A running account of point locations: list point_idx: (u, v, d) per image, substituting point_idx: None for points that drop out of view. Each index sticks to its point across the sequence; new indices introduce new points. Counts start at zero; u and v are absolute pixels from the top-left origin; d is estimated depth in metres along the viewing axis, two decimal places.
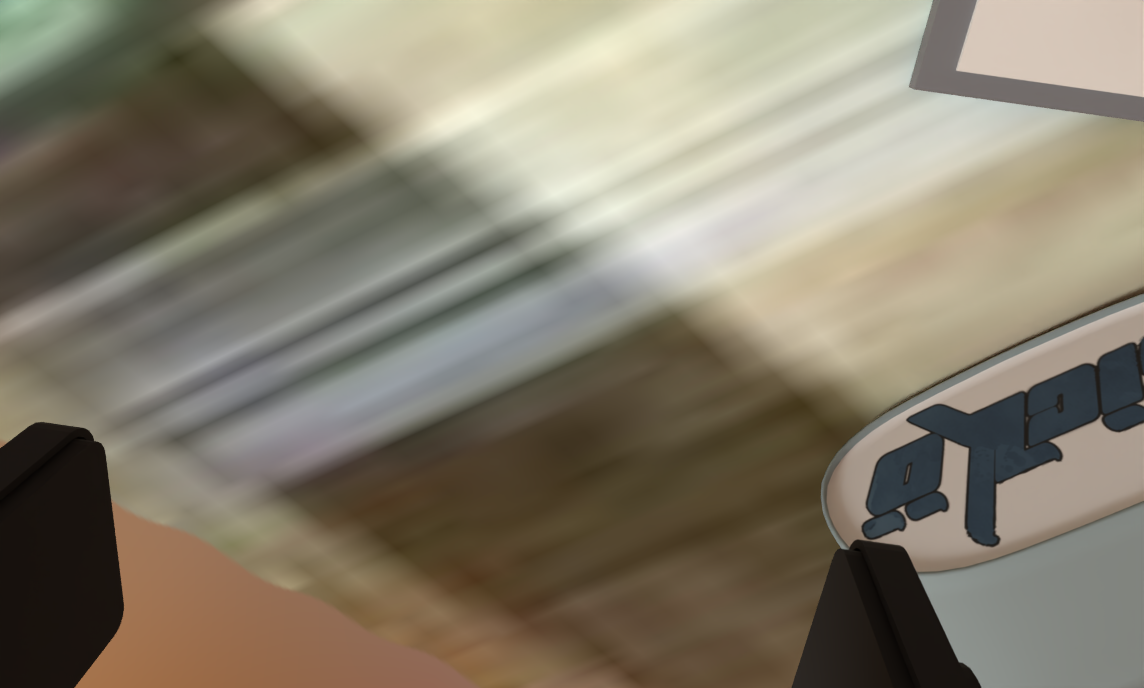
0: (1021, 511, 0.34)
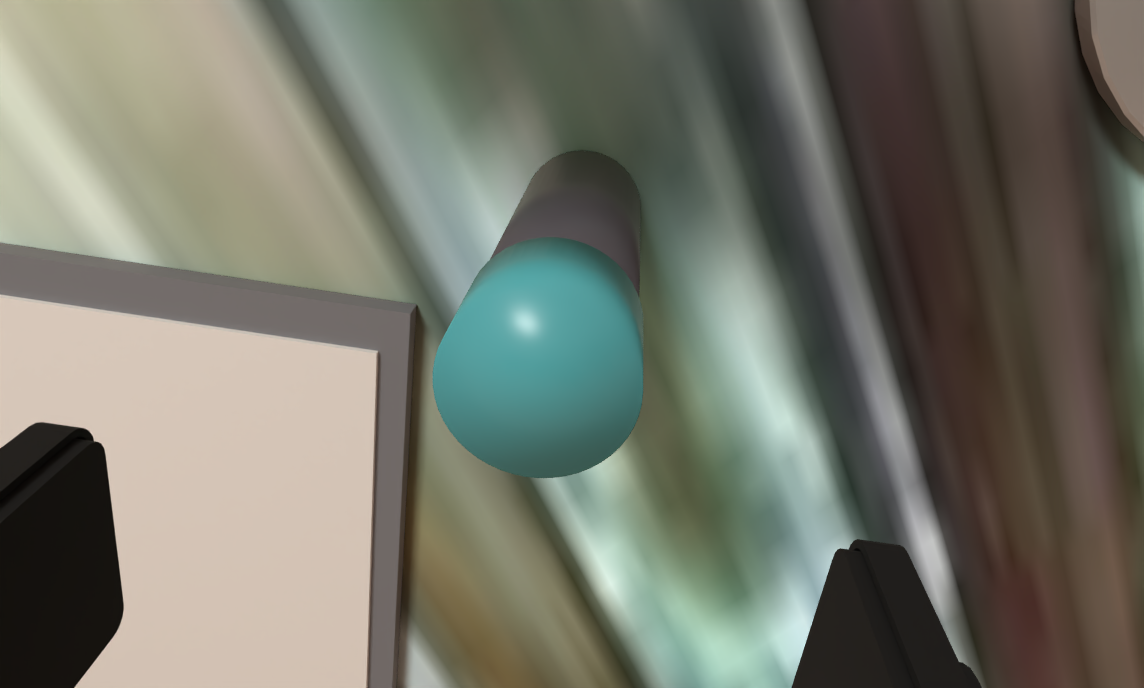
0: None
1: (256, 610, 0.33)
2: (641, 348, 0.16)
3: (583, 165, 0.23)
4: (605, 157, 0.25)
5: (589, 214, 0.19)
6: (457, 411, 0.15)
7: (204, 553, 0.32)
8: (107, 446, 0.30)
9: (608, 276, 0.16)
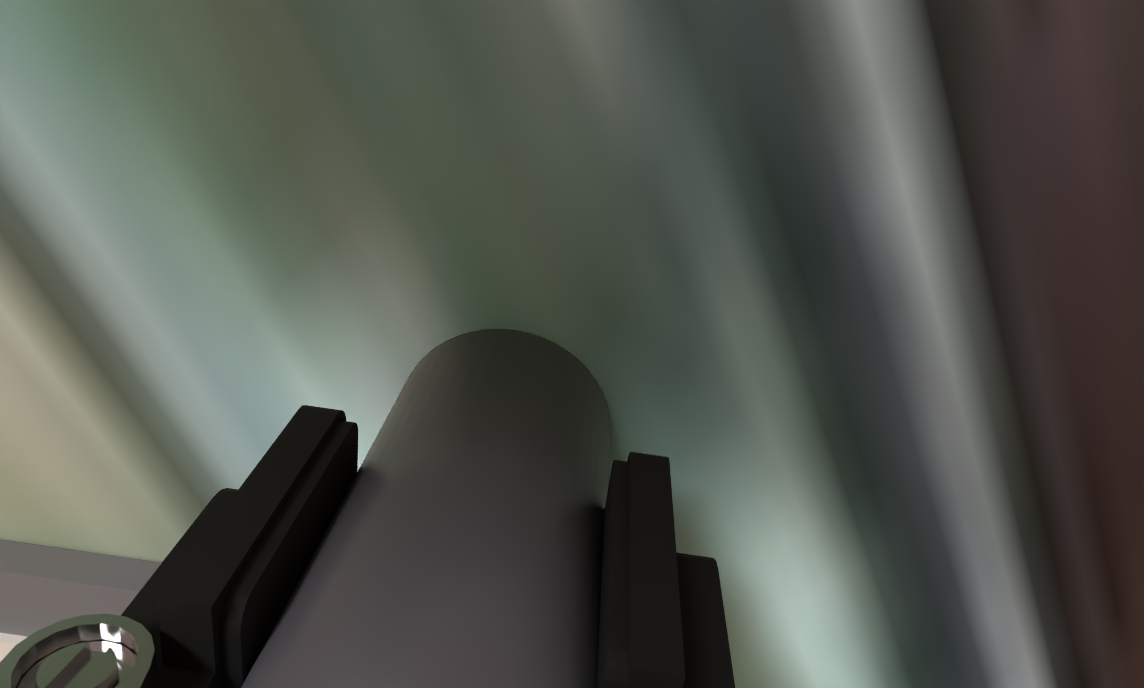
0: None
1: None
2: None
3: (491, 385, 0.12)
4: (542, 344, 0.13)
5: (461, 629, 0.08)
6: None
7: None
8: None
9: None
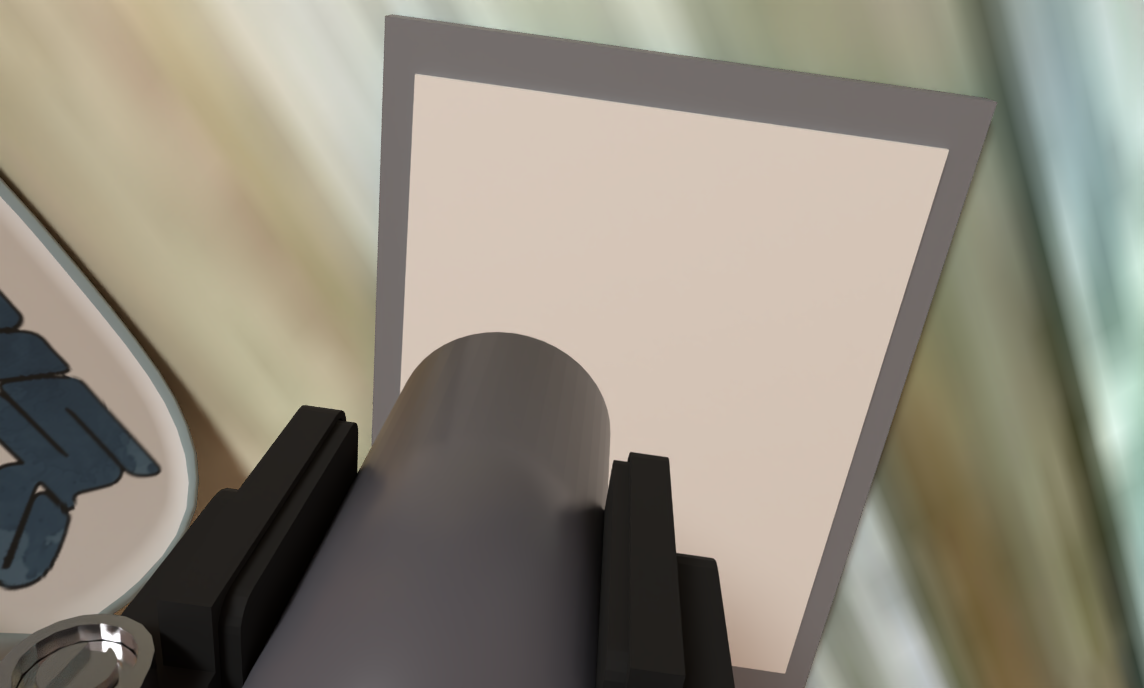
0: None
1: (722, 465, 0.30)
2: None
3: (490, 389, 0.12)
4: (542, 347, 0.13)
5: (460, 637, 0.07)
6: None
7: (680, 398, 0.29)
8: (604, 270, 0.27)
9: None
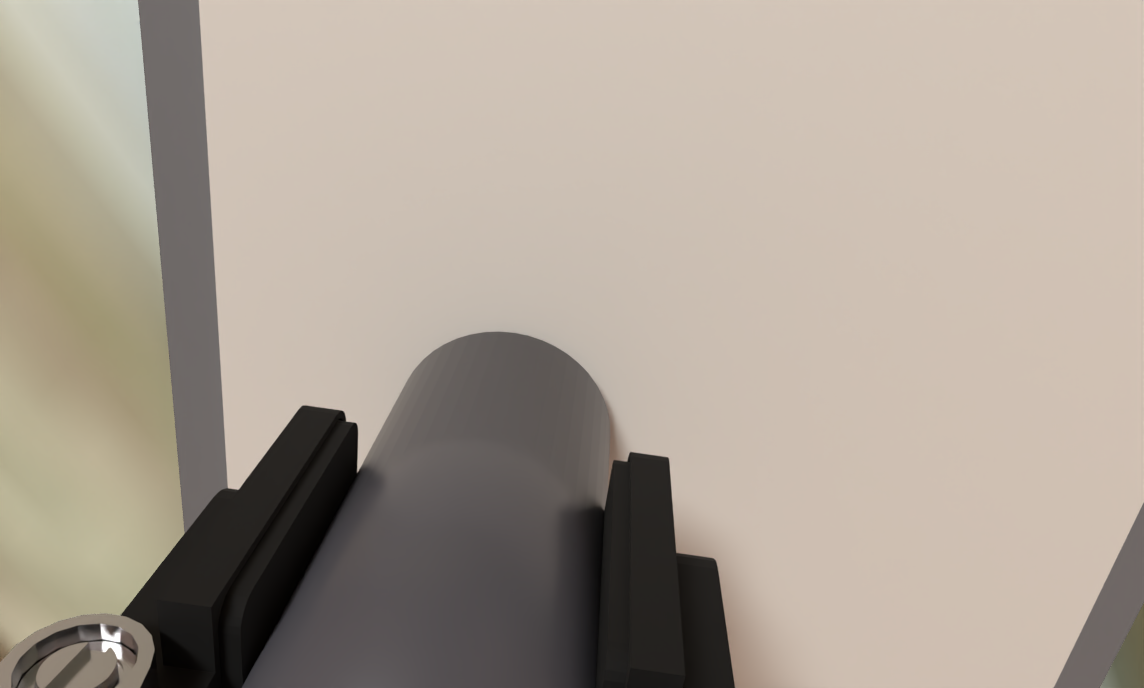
0: None
1: (833, 637, 0.16)
2: None
3: (490, 389, 0.12)
4: (541, 347, 0.13)
5: (460, 635, 0.08)
6: None
7: (760, 520, 0.15)
8: (613, 277, 0.13)
9: None
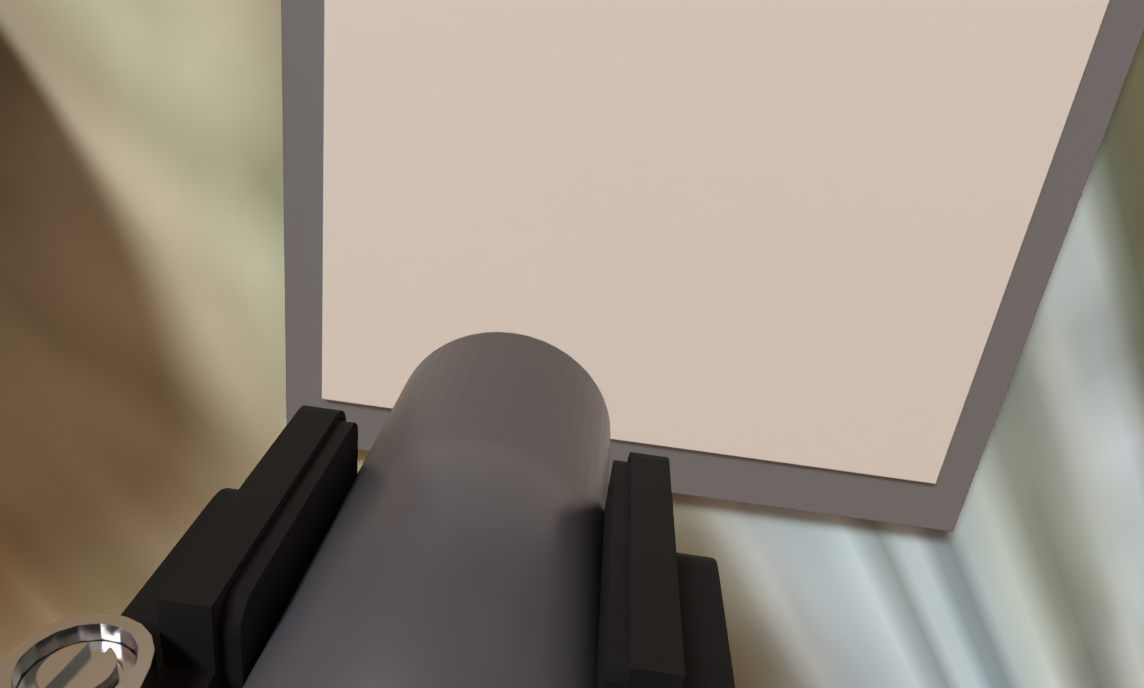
0: None
1: (862, 98, 0.18)
2: None
3: (490, 389, 0.12)
4: (542, 347, 0.13)
5: (461, 636, 0.08)
6: None
7: None
8: None
9: None
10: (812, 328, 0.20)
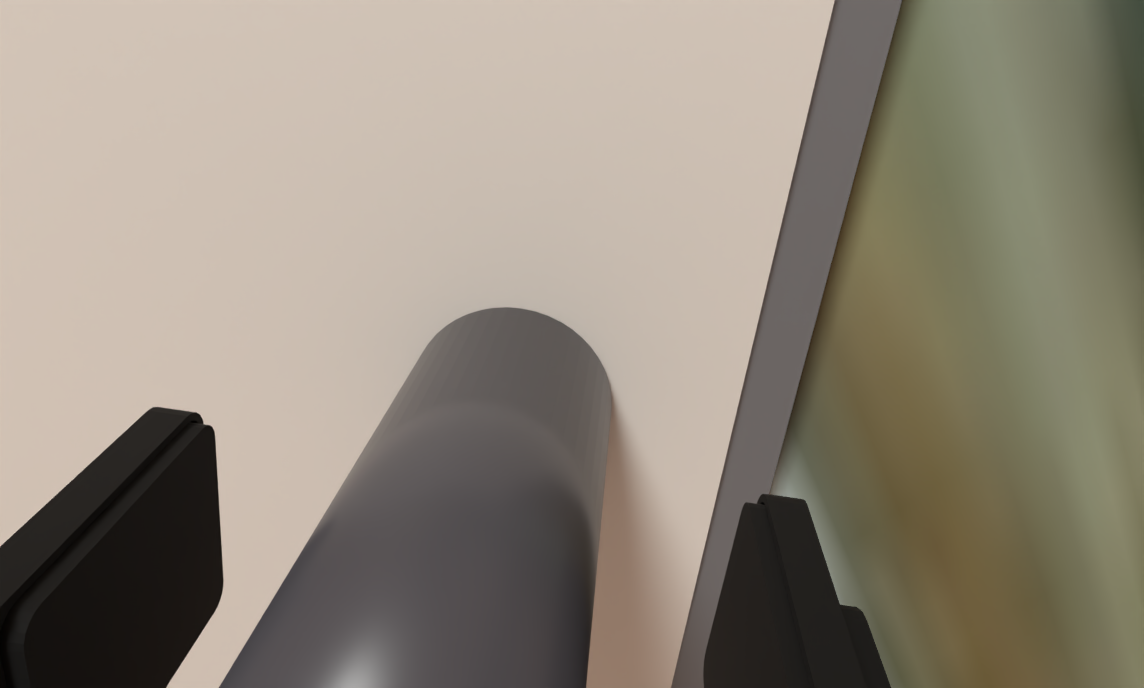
0: None
1: None
2: None
3: (498, 355, 0.13)
4: (547, 321, 0.14)
5: (464, 554, 0.08)
6: None
7: (388, 274, 0.14)
8: None
9: None
10: None
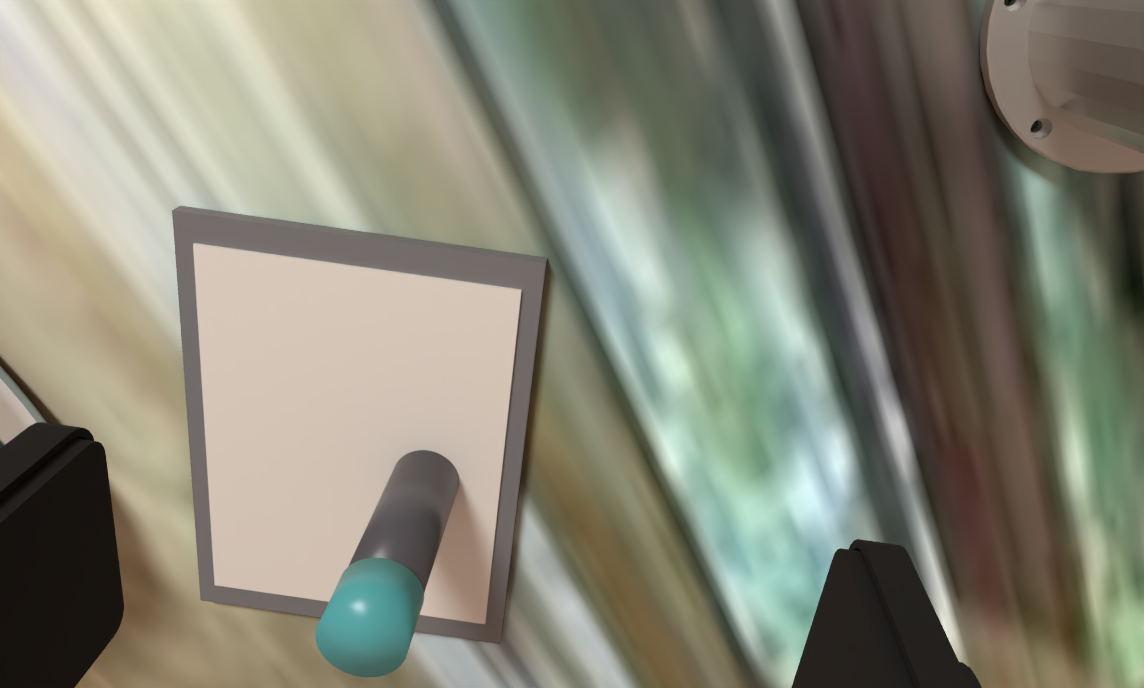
0: None
1: None
2: (411, 618, 0.35)
3: (418, 470, 0.43)
4: (436, 455, 0.44)
5: (404, 527, 0.39)
6: (327, 650, 0.35)
7: (385, 440, 0.45)
8: (324, 360, 0.43)
9: (399, 583, 0.36)
10: None
